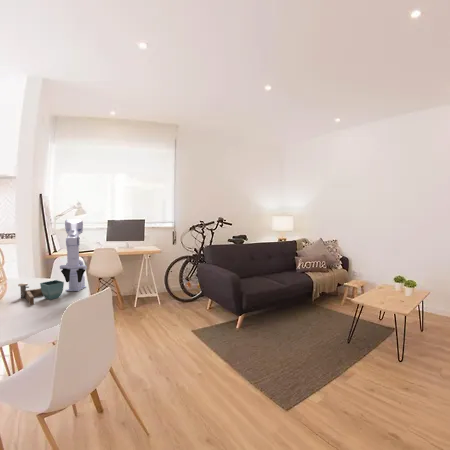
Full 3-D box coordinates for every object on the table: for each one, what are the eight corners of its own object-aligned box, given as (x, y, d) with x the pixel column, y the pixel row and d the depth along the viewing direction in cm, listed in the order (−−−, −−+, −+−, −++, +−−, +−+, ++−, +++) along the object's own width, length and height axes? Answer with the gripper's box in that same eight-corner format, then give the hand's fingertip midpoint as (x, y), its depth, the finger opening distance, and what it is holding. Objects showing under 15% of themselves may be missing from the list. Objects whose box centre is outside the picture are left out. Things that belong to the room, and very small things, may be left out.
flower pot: (64, 297, 155) (64, 281, 154) (48, 301, 147) (47, 285, 147) (56, 294, 159) (56, 279, 159) (40, 298, 152) (39, 283, 151)
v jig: (34, 291, 165) (34, 278, 165) (61, 291, 165) (60, 279, 164) (2, 304, 142) (1, 289, 142) (32, 305, 142) (31, 290, 141)
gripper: (55, 259, 148) (56, 283, 148) (81, 259, 147) (82, 283, 148) (64, 256, 155) (64, 280, 155) (88, 257, 154) (89, 280, 155)
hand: (73, 281), depth 152 cm, fingers open, 6 cm apart
